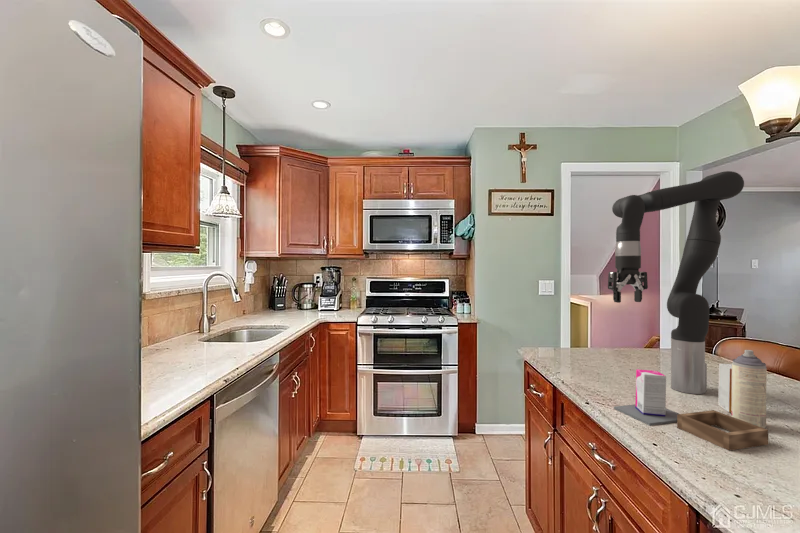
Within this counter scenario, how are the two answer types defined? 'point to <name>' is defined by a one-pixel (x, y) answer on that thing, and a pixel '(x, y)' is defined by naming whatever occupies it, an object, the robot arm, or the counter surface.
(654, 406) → the supplement box
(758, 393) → the aerosol can
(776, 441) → the counter surface
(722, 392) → the small box
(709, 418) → the tray
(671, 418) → the slate mat
